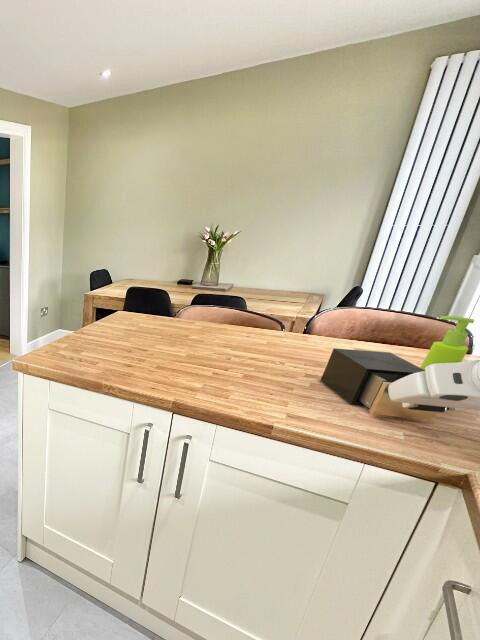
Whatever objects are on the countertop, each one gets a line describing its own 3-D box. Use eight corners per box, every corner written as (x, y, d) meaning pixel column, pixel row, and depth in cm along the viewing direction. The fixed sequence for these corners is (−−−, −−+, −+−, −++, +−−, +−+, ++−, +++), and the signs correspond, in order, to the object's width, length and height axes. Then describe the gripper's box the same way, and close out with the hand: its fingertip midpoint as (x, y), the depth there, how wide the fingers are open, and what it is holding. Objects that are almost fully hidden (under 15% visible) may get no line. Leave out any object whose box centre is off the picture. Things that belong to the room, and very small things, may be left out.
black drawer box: (413, 410, 95) (433, 374, 91) (350, 404, 98) (367, 368, 94) (374, 385, 108) (390, 352, 104) (320, 380, 111) (333, 348, 107)
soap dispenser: (403, 384, 109) (440, 312, 100) (440, 392, 104) (483, 318, 96) (403, 391, 105) (442, 317, 96) (442, 399, 100) (486, 323, 92)
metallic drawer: (450, 432, 85) (470, 399, 82) (386, 425, 88) (402, 393, 84) (392, 394, 101) (406, 366, 98) (339, 389, 104) (351, 361, 100)
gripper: (562, 373, 71) (483, 398, 83) (420, 362, 76) (367, 387, 88) (572, 407, 69) (490, 427, 81) (426, 393, 74) (371, 414, 86)
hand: (425, 406), depth 85 cm, fingers closed on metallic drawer, 5 cm apart
